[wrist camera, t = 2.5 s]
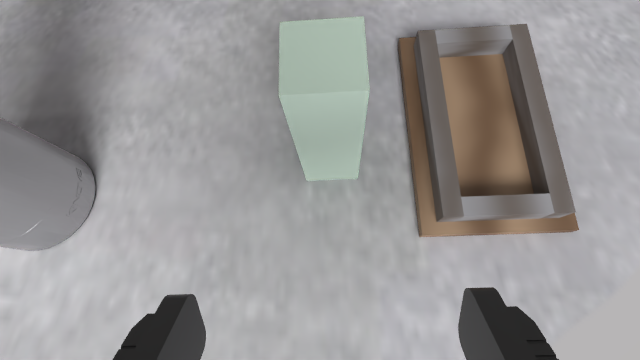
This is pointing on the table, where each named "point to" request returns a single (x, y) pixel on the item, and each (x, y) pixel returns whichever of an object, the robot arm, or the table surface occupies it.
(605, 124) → the table surface
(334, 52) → the pale green angular block
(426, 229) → the track
